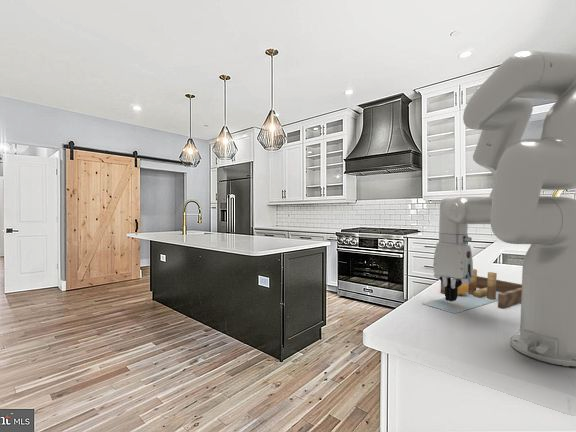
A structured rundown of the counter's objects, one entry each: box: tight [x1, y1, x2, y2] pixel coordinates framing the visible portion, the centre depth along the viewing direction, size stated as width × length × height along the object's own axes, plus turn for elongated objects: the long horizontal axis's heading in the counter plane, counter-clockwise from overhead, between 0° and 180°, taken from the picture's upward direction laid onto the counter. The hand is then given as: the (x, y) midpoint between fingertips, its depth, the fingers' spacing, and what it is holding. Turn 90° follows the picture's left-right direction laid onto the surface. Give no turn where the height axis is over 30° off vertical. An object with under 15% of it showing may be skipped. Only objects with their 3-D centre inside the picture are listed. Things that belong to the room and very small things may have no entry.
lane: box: [421, 288, 502, 314], centre depth 100 cm, size 36×10×1 cm, turn 122°
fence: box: [440, 275, 522, 309], centre depth 105 cm, size 20×20×4 cm
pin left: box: [467, 268, 478, 295], centre depth 106 cm, size 2×2×8 cm
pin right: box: [487, 271, 498, 300], centre depth 101 cm, size 2×2×8 cm
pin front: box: [473, 287, 487, 298], centre depth 105 cm, size 2×2×8 cm
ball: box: [451, 278, 469, 295], centre depth 106 cm, size 6×6×6 cm
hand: (450, 300), depth 94 cm, fingers closed
